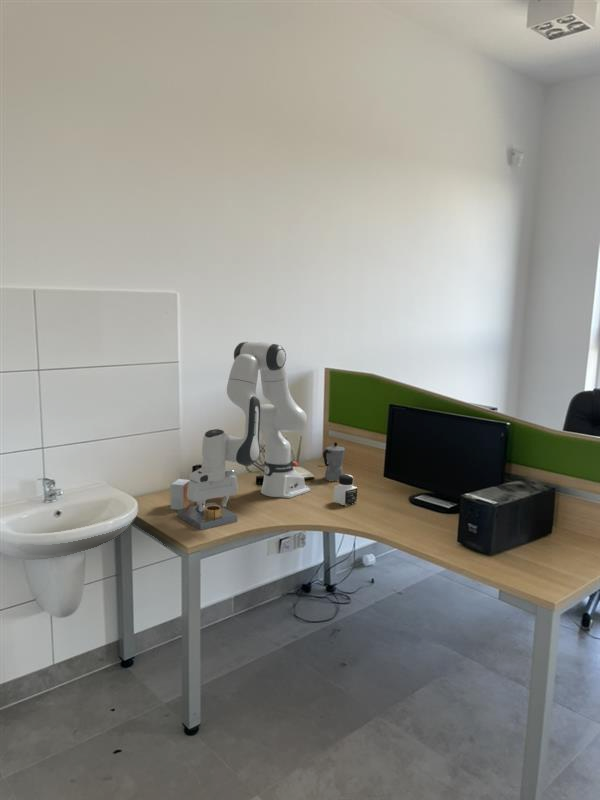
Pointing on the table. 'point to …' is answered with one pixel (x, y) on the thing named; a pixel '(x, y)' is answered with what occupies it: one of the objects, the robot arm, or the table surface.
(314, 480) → the table surface
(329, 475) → the coffeepot
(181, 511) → the block
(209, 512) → the ring
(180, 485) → the small box
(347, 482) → the medicine bottle
